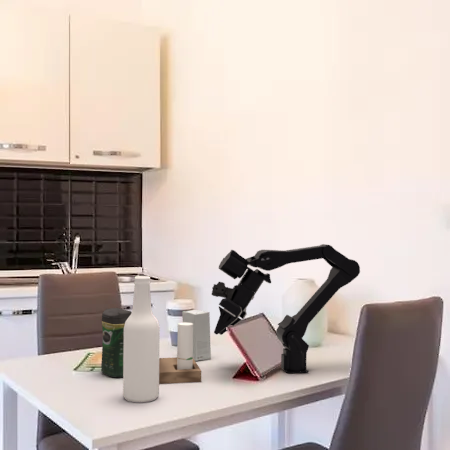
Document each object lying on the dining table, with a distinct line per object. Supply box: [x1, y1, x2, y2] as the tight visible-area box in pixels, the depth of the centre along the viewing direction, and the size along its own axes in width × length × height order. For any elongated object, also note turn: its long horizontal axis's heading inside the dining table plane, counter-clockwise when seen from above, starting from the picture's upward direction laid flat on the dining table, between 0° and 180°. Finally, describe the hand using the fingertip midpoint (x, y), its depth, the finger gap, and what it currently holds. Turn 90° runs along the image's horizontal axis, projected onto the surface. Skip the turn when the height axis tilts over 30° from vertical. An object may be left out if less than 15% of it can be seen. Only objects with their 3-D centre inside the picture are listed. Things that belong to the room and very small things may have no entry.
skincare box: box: [181, 309, 212, 362], centre depth 186 cm, size 8×6×15 cm
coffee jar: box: [100, 307, 132, 378], centre depth 166 cm, size 10×8×19 cm
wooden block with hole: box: [159, 356, 202, 385], centre depth 166 cm, size 14×16×3 cm
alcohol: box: [122, 275, 161, 404], centre depth 145 cm, size 9×9×30 cm
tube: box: [176, 322, 193, 370], centre depth 163 cm, size 4×4×15 cm
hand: (217, 333), depth 168 cm, fingers open, 9 cm apart
